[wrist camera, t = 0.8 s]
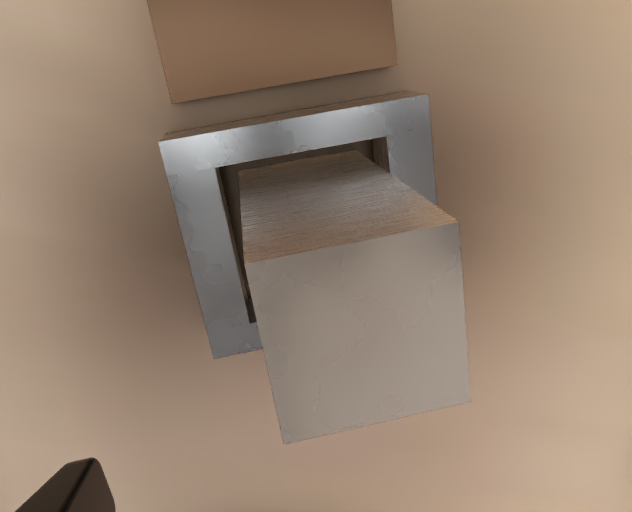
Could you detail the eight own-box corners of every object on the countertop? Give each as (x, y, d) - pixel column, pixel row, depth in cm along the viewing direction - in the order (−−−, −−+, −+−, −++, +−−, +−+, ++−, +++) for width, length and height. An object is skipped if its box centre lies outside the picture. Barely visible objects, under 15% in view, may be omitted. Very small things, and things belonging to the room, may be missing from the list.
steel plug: (369, 258, 20) (470, 401, 11) (261, 280, 19) (283, 444, 11) (354, 149, 18) (458, 221, 10) (238, 171, 18) (244, 264, 10)
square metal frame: (425, 287, 20) (445, 309, 19) (215, 331, 20) (213, 359, 18) (407, 90, 18) (428, 94, 16) (165, 133, 17) (157, 142, 15)
